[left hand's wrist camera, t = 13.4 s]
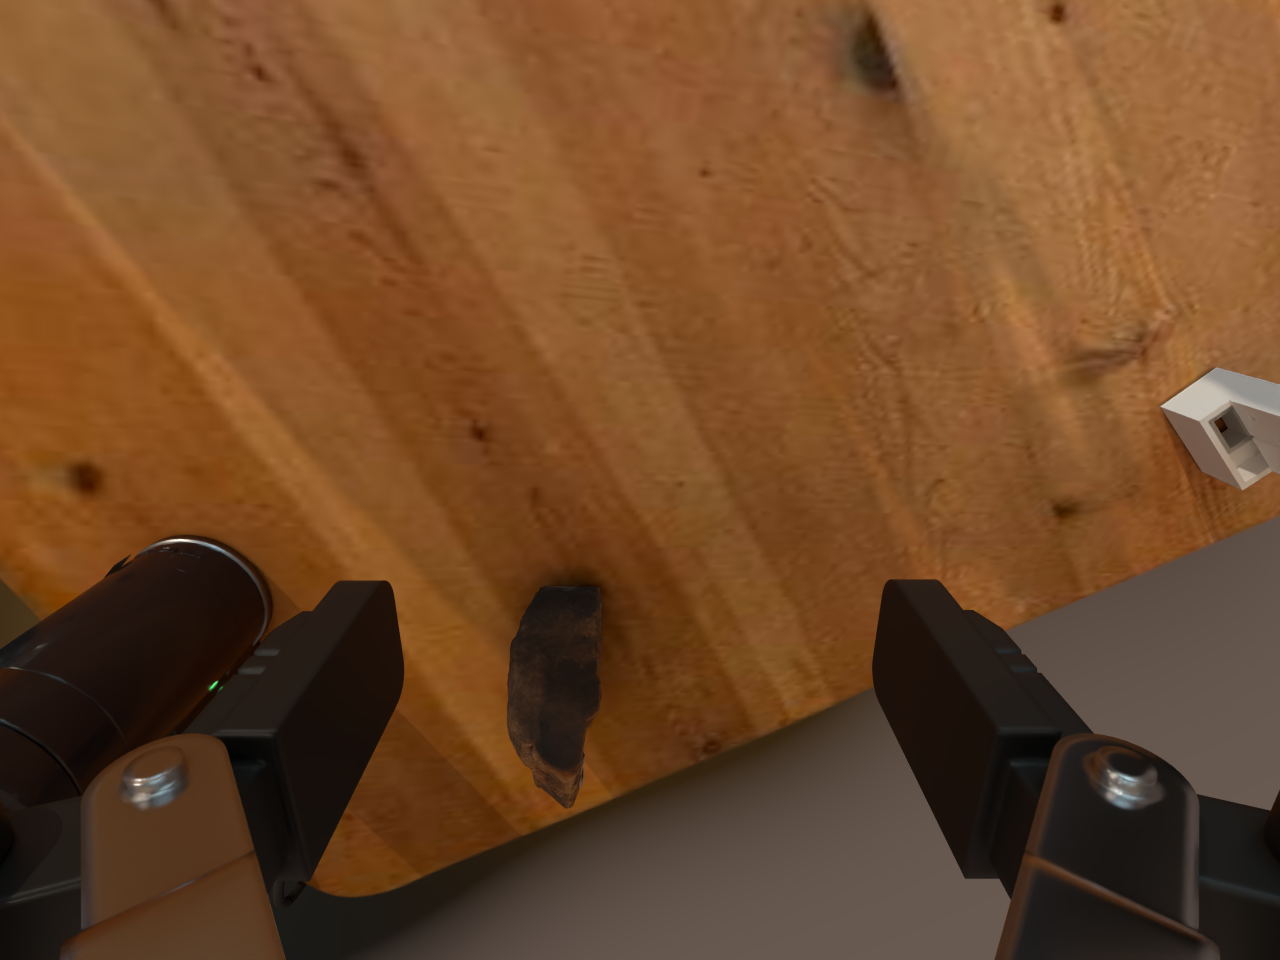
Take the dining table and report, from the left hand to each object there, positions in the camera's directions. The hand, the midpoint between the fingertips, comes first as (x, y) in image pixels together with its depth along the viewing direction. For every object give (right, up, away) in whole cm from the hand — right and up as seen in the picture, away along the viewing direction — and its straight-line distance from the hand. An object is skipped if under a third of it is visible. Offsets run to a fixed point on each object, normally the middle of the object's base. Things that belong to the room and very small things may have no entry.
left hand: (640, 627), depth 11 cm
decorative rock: (-5, -9, +38) cm, 39 cm away
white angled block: (+35, +6, +32) cm, 48 cm away
